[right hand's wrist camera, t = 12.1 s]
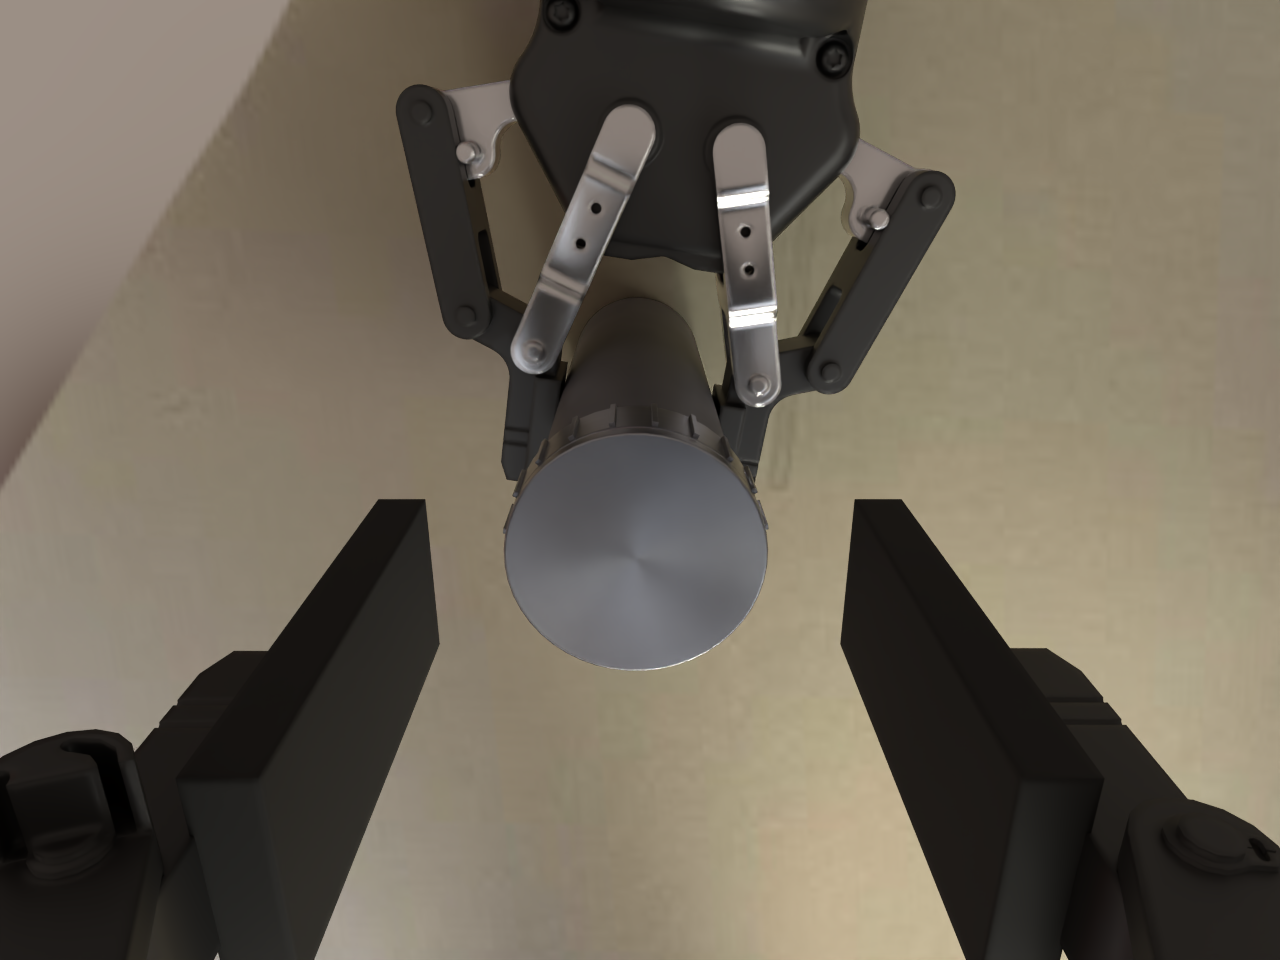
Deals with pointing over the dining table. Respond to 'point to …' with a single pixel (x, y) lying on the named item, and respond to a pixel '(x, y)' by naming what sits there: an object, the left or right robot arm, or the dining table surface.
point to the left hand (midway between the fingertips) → (623, 503)
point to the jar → (636, 365)
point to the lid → (635, 539)
